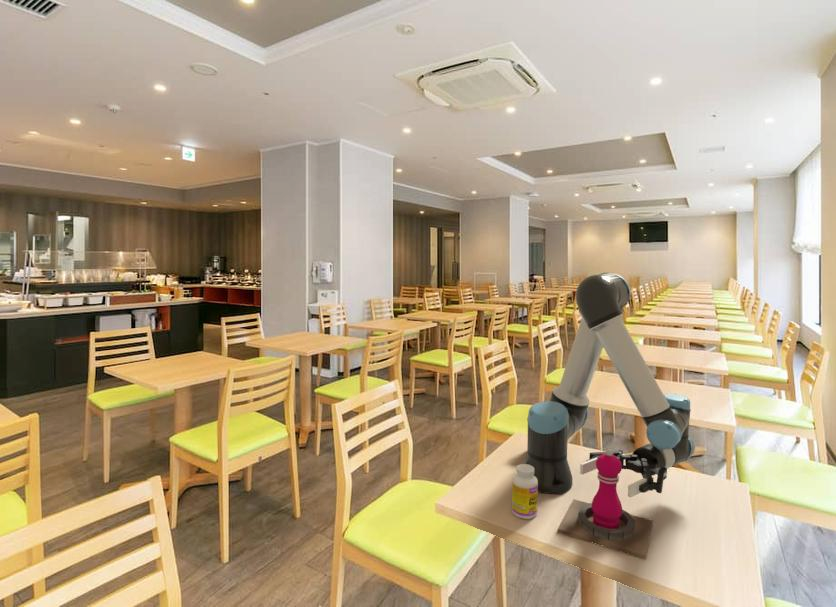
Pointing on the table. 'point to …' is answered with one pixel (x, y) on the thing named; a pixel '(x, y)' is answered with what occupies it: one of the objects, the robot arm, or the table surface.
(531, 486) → the supplement bottle
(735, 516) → the table surface
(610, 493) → the pepper mill
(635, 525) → the mill stand
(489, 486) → the table surface
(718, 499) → the table surface
